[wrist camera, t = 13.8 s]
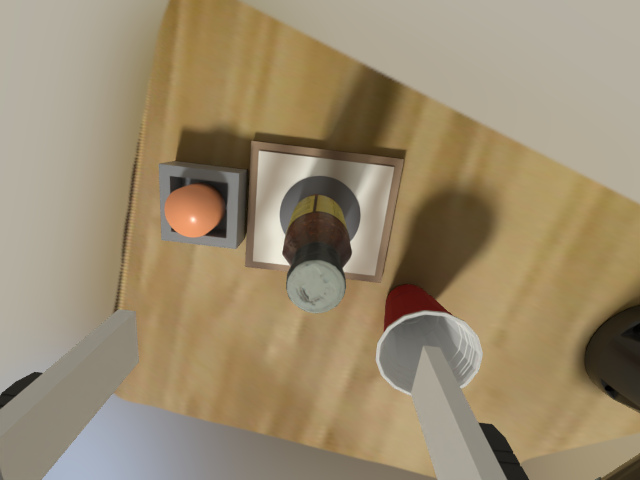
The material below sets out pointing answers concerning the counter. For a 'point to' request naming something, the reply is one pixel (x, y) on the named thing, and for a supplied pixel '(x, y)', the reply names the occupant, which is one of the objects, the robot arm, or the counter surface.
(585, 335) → the counter surface
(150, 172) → the counter surface
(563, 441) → the counter surface
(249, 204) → the board
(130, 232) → the counter surface
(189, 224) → the button
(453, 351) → the plastic cup
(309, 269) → the sauce bottle
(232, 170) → the button housing
